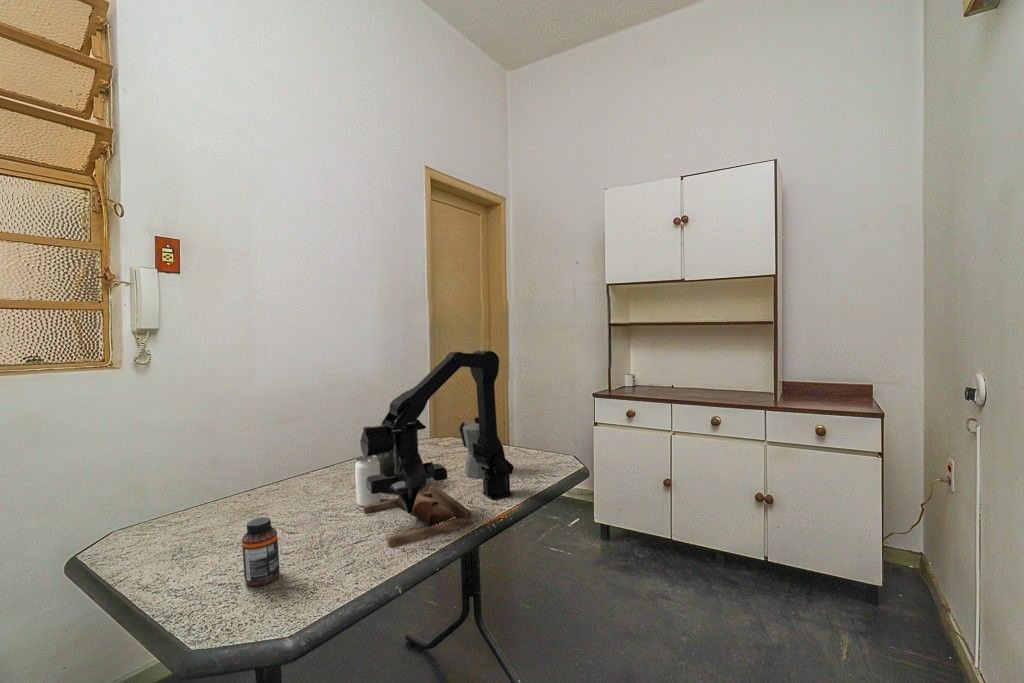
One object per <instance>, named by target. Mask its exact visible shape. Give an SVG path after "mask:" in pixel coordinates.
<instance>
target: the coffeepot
mask: <svg viewBox="0 0 1024 683" xmlns="http://www.w3.org/2000/svg"><path fill="white" fill-rule="evenodd" d="M458 428H459V433H460V437H461V440H462V444H463V447H464V448H465V449H467V454H466V462H465V467H464V468H465V470H464V475H465V476H466V477H467V478H471V479H484V478H483V477H484V473H485V472H486V471H483V470H482V469H481V467H480V465H479V464H477V463H476V461H475V458H474V457H473V446H472V445H473V443H477V441H478V439H479V436H480V433H479V416H478V417H476V416H475V417H474V423H470V422H464V421H463V422H461V423H460V425H459V427H458Z"/></svg>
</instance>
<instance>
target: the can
mask: <svg viewBox="0 0 1024 683" xmlns="http://www.w3.org/2000/svg"><path fill="white" fill-rule="evenodd" d="M355 461H356V463H355V465H354V472H355V473H354V475H355V476H354V477H355V489H356V490H355V492H356V494H355V495H356V504H357V505H358V506H359V505H360V507H363V506H366V505H370V504H375V503H379V502H382V498H383V496H382V493H377V494H371V492H370V491H369V490H368V489H367V488H366V480H367V478H368V477H369V476H374V475H379V474H380V462H379V461H378V457H377V456H375V455H374V456H369V457H364V456H361V457H358V458H357V459H356V460H355Z"/></svg>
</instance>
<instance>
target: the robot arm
mask: <svg viewBox="0 0 1024 683" xmlns="http://www.w3.org/2000/svg"><path fill="white" fill-rule="evenodd" d="M463 367H464V368H469V369H470V374H471V376H472V378H473V380H474V382H475V383H476V384H475V386H476V396H477V398H476V399H477V413H478V418H479V433H480V436H479V439H478V441H477V443H473V445H472V446H473V457H474V458H475V461H476V463H477V464H479V465H480V467H481V469H482V470H483V471H486V472H485V473H484V478H482V487H483V491H482V494H483V495H484V496H486V497H488V498H489V499H491V500H497V499H502V498H506V497H509V496H512V495H513V496H514V492H513V491H511V478H510V475H512V474H513V471H514V467H515V466H514V465H513V463H511V462H510V461H509V460H508V459H506V455H505V450H504V447H503V444H502V442H501V440H500V438H499V436H498V426H497V425H498V424H497V407H496V406H497V405H496V393H495V388H496V387H495V382H496V379H497V377H498V376H499V369H500V357H499V355H498V354H496V353H495V351H492V350H476V351H473V352H472V353H469V352H462V351H450V352H448V353H447V355H446V357H444V359H442V361H441V362H440V363H438V364H437V365H436V366H435V367H434V368H433V369H432V370H431V371H430V372H429V373H428V374H427V375H426V376H424V378H423V379H422V380H421V381H420V382H419V383H418V384H416V385H415V386H414V387H412V388H411V389H409V390H406V391H405V392H402V393H401V394H400V395H398V396H397V397H395V398H393V400H392V401H391V402H390V403H389V408H388V409H389V410H388V412H387V414H386V415H385V417H384V419H383V420H382V422H381V424H380V425H375V426H364V427H363V428H362V434H361V437H360V438H361V439H360V449H361V452H362V455H363V457H369V456H375V455H380V454H385V453H389V452H390V451H391V450H393V447H394V453H393V454H394V457H395V469H394V473H395V476H392V477H386V476H384V475H383V474H379V475H374V476H369V477H368V478H367V480H366V488H367V489H368V490H369V491H370V492H371V494H377V493H381V494H382V493H386V492H388V491H387V490H388V488H389V485H390V486H391V488H392V489H393V490H394V491H393V492H395V493H398V495H399V496H400V497H401V499H402V502H403V504H404V506H405V509H406V513H407V514H412V513H411V512H412V509H413V506H414V503H415V499H416V496H417V494H419V492H420V490H421V489H422V488H425V487H426V485H427V483H428V480H429V479H433V480H434V481H435V482H439V481H444V480H447V479H448V470H447V468H446V467H445V466H443V465H441V464H440V463H433V462H432V461H429V462H424V463H423V461H422V462H421V460H420V457H421V454H420V453H419V440H418V439H419V436H418V431H419V430H425V429H426V428H427V426H426V425H424V424H423V423H422V422H421V421H420V419H419V417H420V416H421V414H422V413H423V412H424V410H425V408H426V406H427V403H428V401H429V400H430V399H431V397H433V395H434V394H435V393H436V392H437V391H438V390H440V388H441V387H443V385H444V384H446V382H447V381H448V380H449V379H451V377H453V375H454V374H455V373H457V371H459V369H460V368H463ZM422 463H423V464H422ZM405 509H404V510H405Z"/></svg>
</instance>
